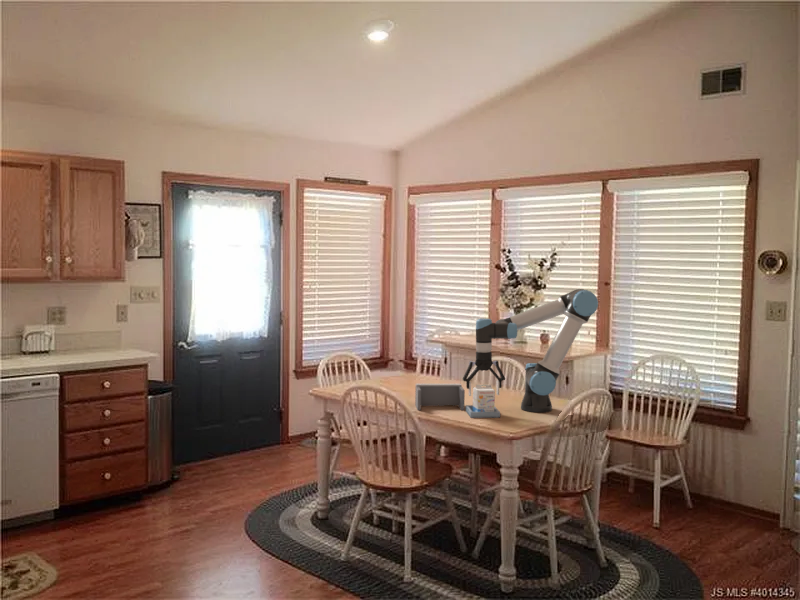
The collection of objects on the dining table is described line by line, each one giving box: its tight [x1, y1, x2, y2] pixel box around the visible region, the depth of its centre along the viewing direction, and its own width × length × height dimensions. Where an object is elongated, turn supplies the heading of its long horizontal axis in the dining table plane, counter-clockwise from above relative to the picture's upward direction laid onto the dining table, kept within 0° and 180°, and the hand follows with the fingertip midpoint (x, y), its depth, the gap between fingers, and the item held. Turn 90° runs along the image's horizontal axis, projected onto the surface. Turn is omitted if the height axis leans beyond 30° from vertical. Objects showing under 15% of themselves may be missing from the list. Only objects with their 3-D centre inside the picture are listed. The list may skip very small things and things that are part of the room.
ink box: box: [472, 384, 496, 412], centre depth 341 cm, size 9×8×13 cm
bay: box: [414, 383, 466, 411], centre depth 354 cm, size 23×13×11 cm, turn 94°
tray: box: [464, 404, 501, 419], centre depth 342 cm, size 14×15×3 cm
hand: (483, 395), depth 341 cm, fingers open, 13 cm apart
